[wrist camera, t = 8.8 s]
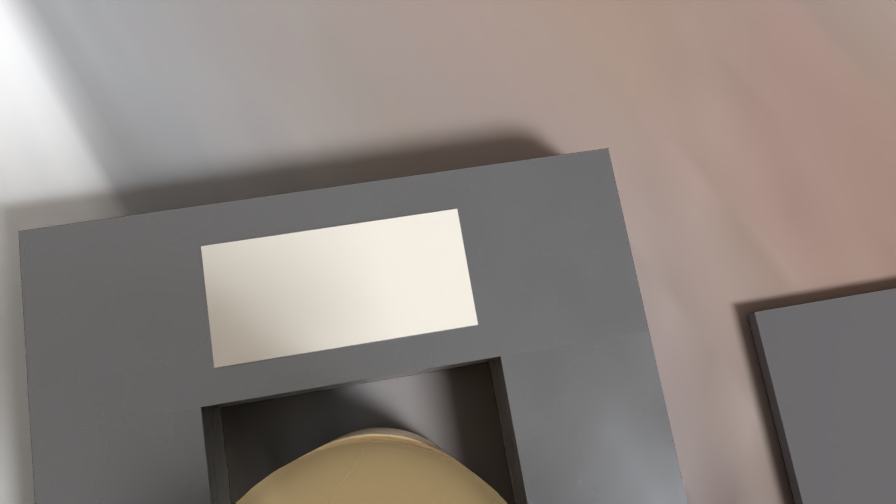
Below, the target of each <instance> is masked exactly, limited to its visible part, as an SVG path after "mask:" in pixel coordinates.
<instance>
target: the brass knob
mask: <svg viewBox="0 0 896 504" xmlns="http://www.w3.org/2000/svg"><path fill="white" fill-rule="evenodd" d="M235 504H507V502H506V501H505V500H504V499H503V498H502V497H501V496H500V495H499V494H498V493H497V492H496V491H495V490H494V489H493V488H492V487H491V486H489V485H488V484H487V483H486V482H485V481H483V480H482V479H481V478H480V477H479V476H477V475H476V474H475V473H473V472H472V471H471V470H469V469H468V468H467V467H465V466H464V465H462V464H461V463H460V462H458V461H457V460H456V459H454V458H453V457H452V456H450V455H449V454H448V453H446V452H445V451H443V450H442V449H441V448H439V447H438V446H437V445H435V444H434V443H432V442H430V441H429V440H427V439H426V438H424V437H421V436H419V435H417V434H415V433H412V432H408V431H405V430H402V429H395V428H387V427H375V428H366V429H361V430H357V431H353V432H350V433H348V434H345V435H342V436H340V437H338V438H336V439H334V440H332V441H330V442H328V443H327V444H325V445H323V446H321V447H319V448H317V449H315V450H313V451H311V452H309V453H307V454H305V455H304V456H302V457H300V458H298V459H296V460H294V461H292V462H290V463H289V464H287V465H285V466H283V467H281V468H279V469H278V470H276V471H274V472H273V473H271V474H270V475H269V476H267V477H266V478H264V479H263V480H262V481H260V482H259V483H258V484H256V485H255V486H253V487H252V488H251V489H250V490H249V491H248V492H247V493H246V494H245V495H244V496H243V497H242V498H241V499H240V500H239V501H237V502H236V503H235Z"/></svg>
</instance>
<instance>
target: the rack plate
mask: <svg viewBox="0 0 896 504" xmlns="http://www.w3.org/2000/svg"><path fill="white" fill-rule="evenodd" d="M19 247H20V264H21V280H22V297H23V313H24V330H25V346H26V362H27V379H28V395H29V412H30V428H31V445H32V461H33V477H34V494H35V504H231V496H230V487H229V478H228V469H227V460H226V451H225V442H224V433H223V424H222V415H221V407H226V406H232V405H238V404H244V403H250V402H256V401H262V400H268V399H273V398H279V397H285V396H291V395H297V394H303V393H309V392H315V391H320V390H326V389H332V388H338V387H344V386H350V385H356V384H362V383H367V382H373V381H379V380H385V379H391V378H397V377H403V376H409V375H414V374H420V373H426V372H432V371H438V370H444V369H450V368H456V367H461V366H467V365H473V364H479V363H485V362H489V363H490V369H491V374H492V380H493V385H494V391H495V396H496V402H497V407H498V413H499V419H500V424H501V430H502V435H503V441H504V446H505V452H506V457H507V463H508V468H509V474H510V479H511V485H512V490H513V496H514V502H515V504H688V503H687V499H686V494H685V490H684V485H683V481H682V476H681V472H680V467H679V463H678V458H677V454H676V449H675V445H674V440H673V436H672V432H671V427H670V423H669V418H668V414H667V409H666V405H665V400H664V396H663V391H662V387H661V382H660V378H659V373H658V369H657V364H656V360H655V356H654V351H653V347H652V342H651V338H650V333H649V329H648V324H647V320H646V315H645V311H644V306H643V302H642V297H641V293H640V289H639V284H638V280H637V275H636V271H635V266H634V262H633V257H632V253H631V248H630V244H629V239H628V235H627V230H626V226H625V222H624V217H623V213H622V208H621V204H620V199H619V195H618V190H617V186H616V181H615V177H614V172H613V168H612V163H611V159H610V155H609V150H608V148H605V149H598V150H591V151H584V152H577V153H570V154H563V155H556V156H549V157H541V158H534V159H527V160H520V161H513V162H506V163H499V164H492V165H485V166H478V167H470V168H463V169H456V170H449V171H442V172H435V173H428V174H421V175H414V176H407V177H399V178H392V179H385V180H378V181H371V182H364V183H357V184H350V185H343V186H335V187H328V188H321V189H314V190H307V191H300V192H293V193H286V194H279V195H272V196H264V197H257V198H250V199H243V200H236V201H229V202H222V203H215V204H208V205H201V206H193V207H186V208H179V209H172V210H165V211H158V212H151V213H144V214H137V215H129V216H122V217H115V218H108V219H101V220H94V221H87V222H80V223H73V224H66V225H58V226H51V227H44V228H37V229H30V230H23V231H19Z"/></svg>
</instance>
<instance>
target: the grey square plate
mask: <svg viewBox="0 0 896 504" xmlns="http://www.w3.org/2000/svg"><path fill="white" fill-rule="evenodd" d="M748 318H749V322H750V326H751V330H752V334H753V338H754V342H755V346H756V350H757V354H758V358H759V362H760V366H761V370H762V374H763V378H764V382H765V386H766V390H767V394H768V398H769V402H770V406H771V410H772V414H773V418H774V422H775V426H776V430H777V434H778V438H779V442H780V446H781V450H782V454H783V458H784V462H785V466H786V470H787V474H788V478H789V482H790V486H791V490H792V494H793V498H794V502H795V504H896V288H893V289H888V290H882V291H876V292H870V293H864V294H858V295H852V296H846V297H840V298H835V299H829V300H823V301H817V302H811V303H805V304H799V305H793V306H787V307H781V308H776V309H770V310H764V311H758V312H753V313H749V314H748Z"/></svg>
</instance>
